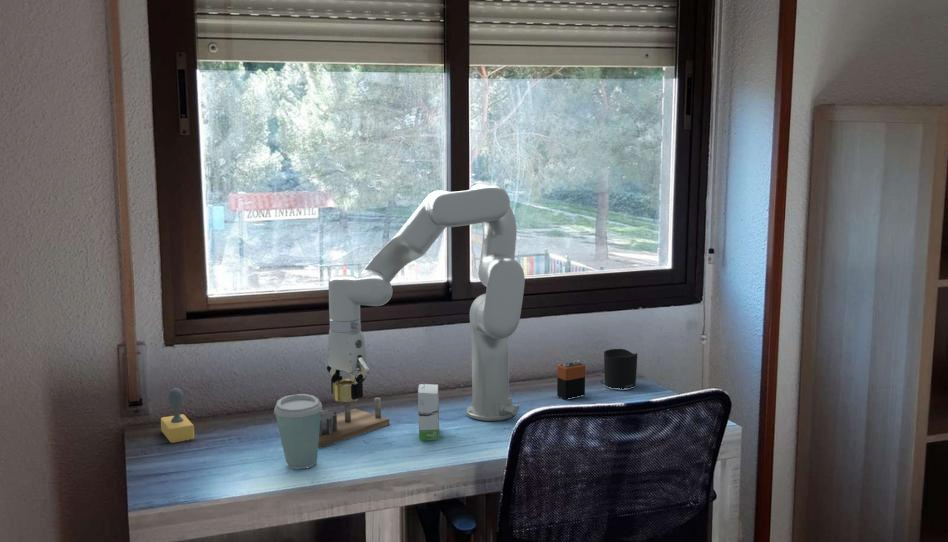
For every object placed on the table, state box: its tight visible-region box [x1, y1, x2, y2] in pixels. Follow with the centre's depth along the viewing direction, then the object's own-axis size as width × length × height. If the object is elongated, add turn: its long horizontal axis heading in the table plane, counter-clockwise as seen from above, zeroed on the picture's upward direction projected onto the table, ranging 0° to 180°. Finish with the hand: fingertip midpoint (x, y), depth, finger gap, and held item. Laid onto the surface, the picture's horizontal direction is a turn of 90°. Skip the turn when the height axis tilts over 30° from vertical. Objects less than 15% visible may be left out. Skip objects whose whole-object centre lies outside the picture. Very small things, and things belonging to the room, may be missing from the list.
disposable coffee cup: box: [273, 393, 323, 470], centre depth 209 cm, size 11×11×15 cm
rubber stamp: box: [160, 387, 195, 444], centre depth 230 cm, size 10×6×12 cm, turn 30°
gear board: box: [318, 397, 390, 448], centre depth 233 cm, size 13×22×7 cm, turn 139°
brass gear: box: [332, 378, 359, 403], centre depth 234 cm, size 7×7×4 cm
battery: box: [556, 359, 586, 400], centre depth 259 cm, size 4×7×10 cm, turn 123°
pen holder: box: [603, 348, 638, 389], centre depth 268 cm, size 9×9×10 cm
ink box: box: [417, 383, 440, 441], centre depth 229 cm, size 9×5×12 cm, turn 2°
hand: (347, 395), depth 234 cm, fingers closed on brass gear, 6 cm apart
